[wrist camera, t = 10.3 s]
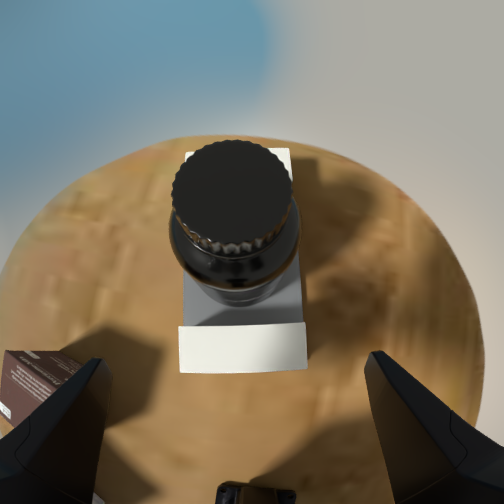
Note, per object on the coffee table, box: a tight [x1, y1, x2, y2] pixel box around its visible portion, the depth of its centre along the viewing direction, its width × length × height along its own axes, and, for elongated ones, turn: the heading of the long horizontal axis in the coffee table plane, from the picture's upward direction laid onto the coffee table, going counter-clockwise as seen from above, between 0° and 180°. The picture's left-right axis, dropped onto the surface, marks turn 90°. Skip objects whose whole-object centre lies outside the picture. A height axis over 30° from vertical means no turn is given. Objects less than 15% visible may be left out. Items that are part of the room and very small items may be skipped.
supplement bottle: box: [169, 140, 302, 307], centre depth 16 cm, size 7×7×12 cm
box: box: [0, 350, 83, 428], centre depth 16 cm, size 6×6×7 cm
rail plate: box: [179, 148, 308, 373], centre depth 21 cm, size 16×9×4 cm, turn 2°
